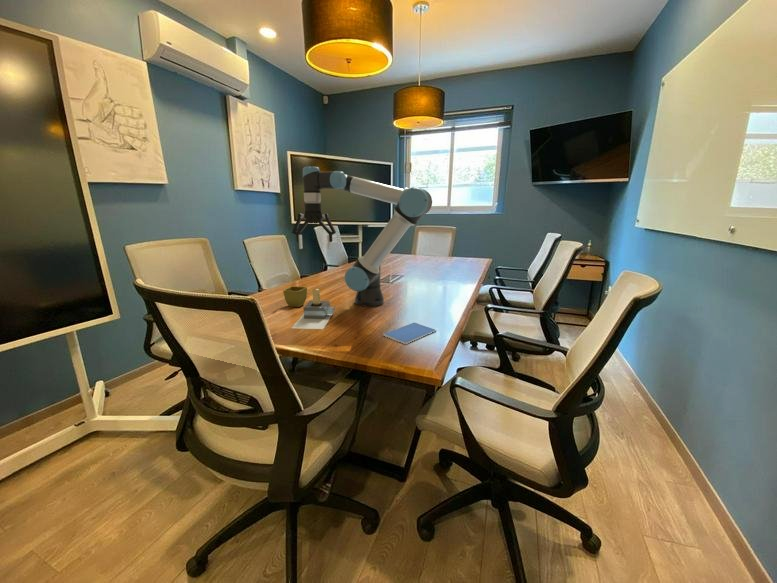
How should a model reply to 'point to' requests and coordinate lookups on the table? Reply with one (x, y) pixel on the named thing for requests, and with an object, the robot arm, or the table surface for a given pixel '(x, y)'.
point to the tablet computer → (409, 333)
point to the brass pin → (316, 297)
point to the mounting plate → (311, 323)
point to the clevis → (317, 310)
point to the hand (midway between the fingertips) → (315, 248)
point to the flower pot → (295, 296)
